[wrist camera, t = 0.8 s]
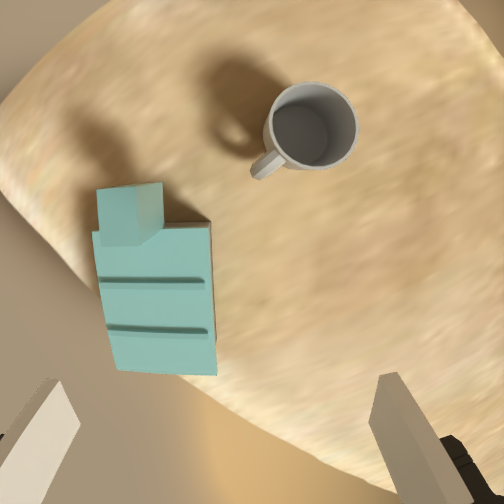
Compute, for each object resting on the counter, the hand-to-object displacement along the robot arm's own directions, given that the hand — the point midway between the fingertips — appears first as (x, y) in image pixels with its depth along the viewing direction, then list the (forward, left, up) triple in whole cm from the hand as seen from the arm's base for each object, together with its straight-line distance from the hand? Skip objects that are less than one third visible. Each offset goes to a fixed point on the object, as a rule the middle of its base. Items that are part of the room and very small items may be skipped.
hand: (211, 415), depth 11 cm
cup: (-12, +6, -24) cm, 27 cm away
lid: (+1, -7, -18) cm, 19 cm away
